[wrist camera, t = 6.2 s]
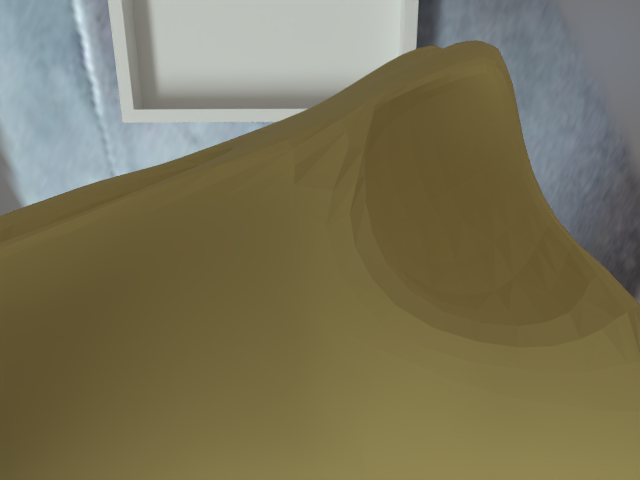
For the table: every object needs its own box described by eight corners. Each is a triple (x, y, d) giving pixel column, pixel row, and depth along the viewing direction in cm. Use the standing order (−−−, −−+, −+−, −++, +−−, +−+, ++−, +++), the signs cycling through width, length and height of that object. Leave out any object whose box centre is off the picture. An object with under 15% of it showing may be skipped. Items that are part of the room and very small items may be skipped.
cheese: (416, 49, 13) (661, -68, 3) (510, 364, 16) (780, 768, 6) (90, 180, 14) (-388, 358, 5) (233, 449, 17) (117, 889, 8)
